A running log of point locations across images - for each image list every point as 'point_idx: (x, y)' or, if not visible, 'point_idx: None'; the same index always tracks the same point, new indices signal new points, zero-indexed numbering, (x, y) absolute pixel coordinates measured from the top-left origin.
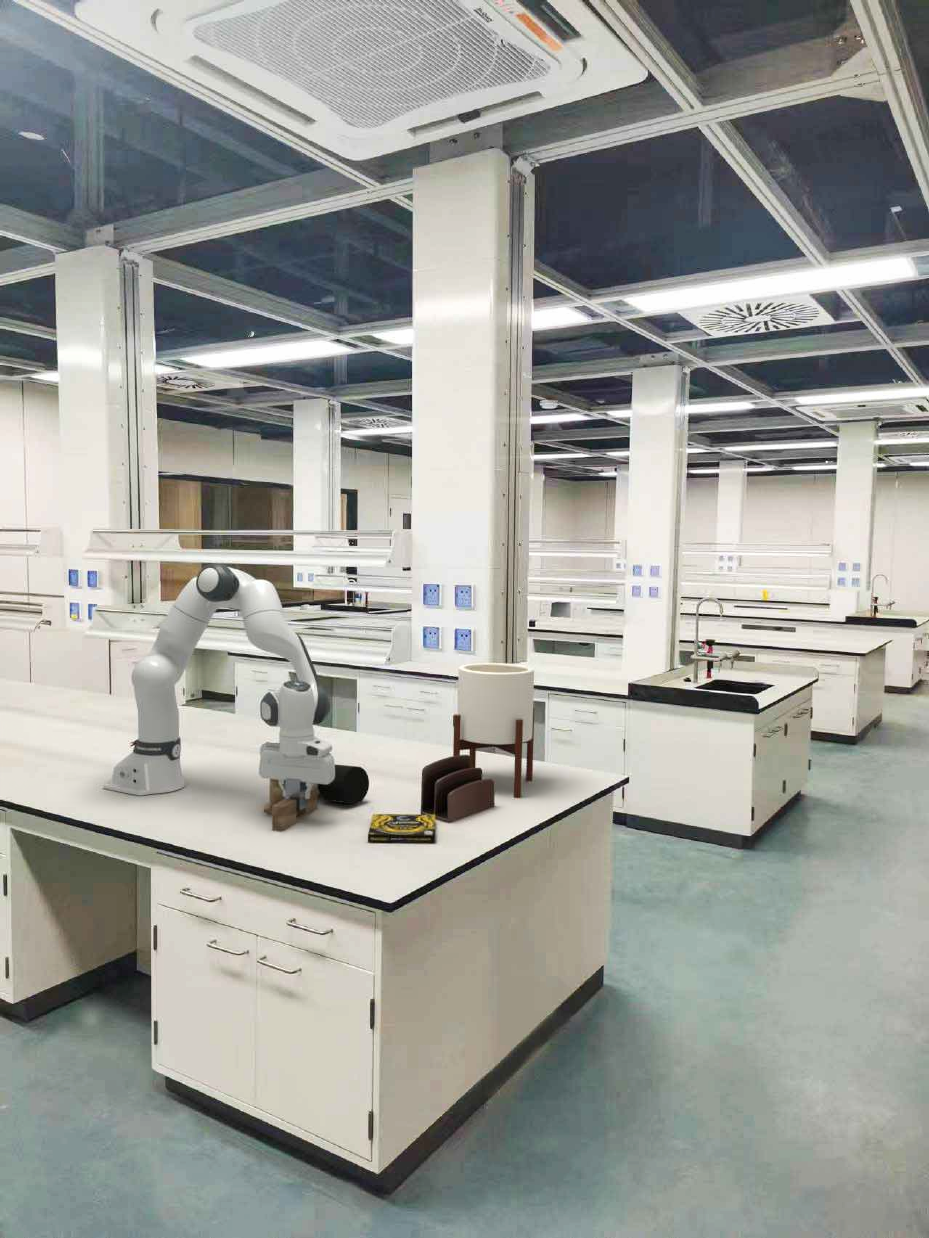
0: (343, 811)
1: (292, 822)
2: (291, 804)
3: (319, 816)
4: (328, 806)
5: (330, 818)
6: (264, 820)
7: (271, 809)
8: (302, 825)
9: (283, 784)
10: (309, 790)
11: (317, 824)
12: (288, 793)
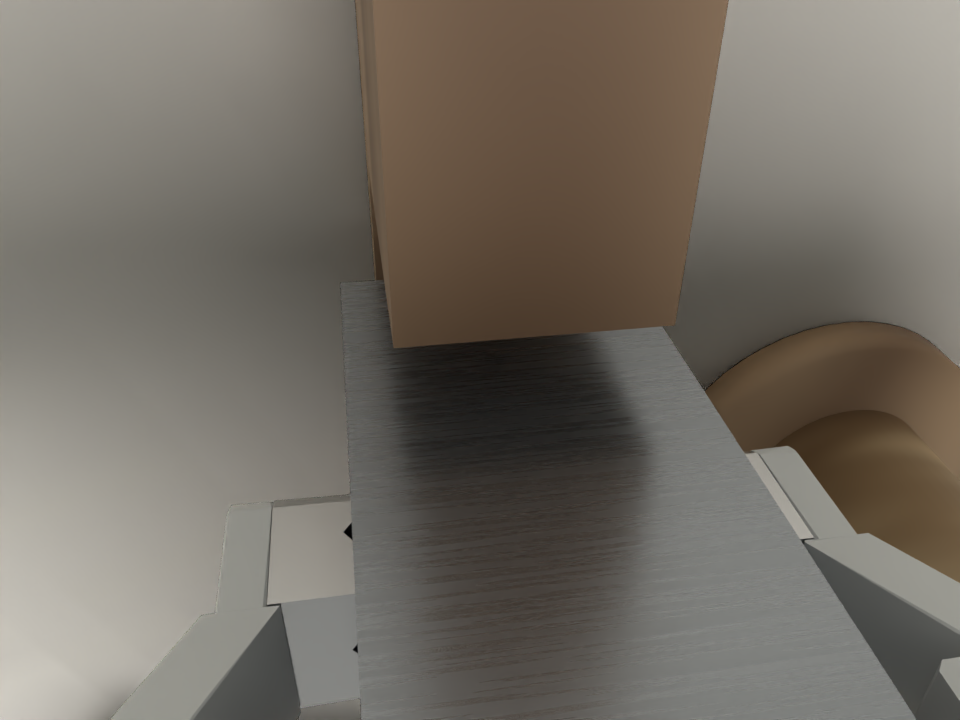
0: (79, 682)
1: (357, 14)
2: (373, 61)
3: (220, 472)
4: (332, 716)
5: (32, 468)
6: (868, 58)
7: (871, 374)
8: (192, 57)
9: (923, 672)
10: (172, 694)
11: (2, 194)
12: (669, 454)
